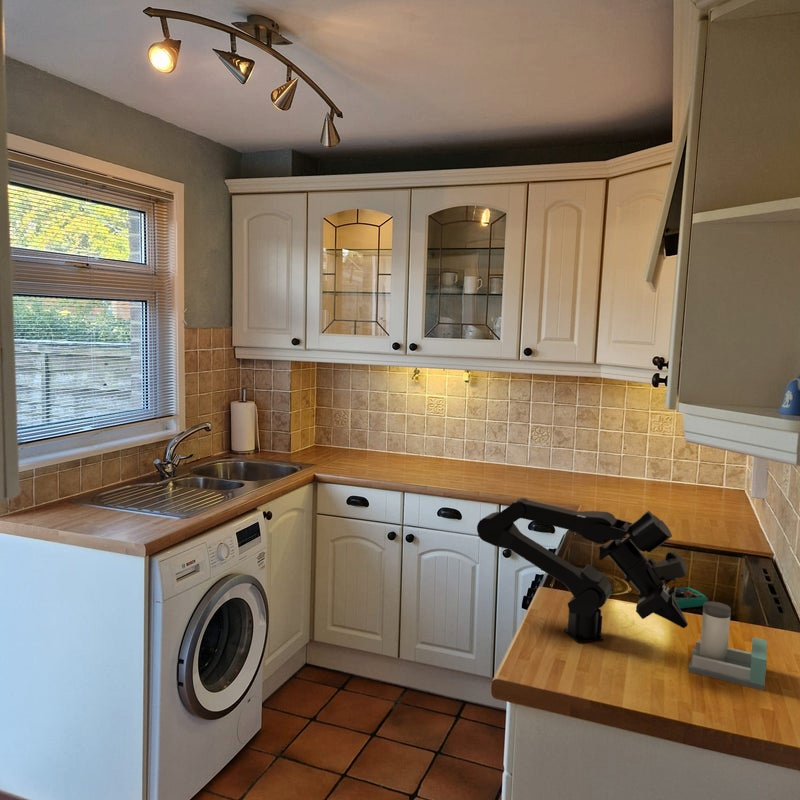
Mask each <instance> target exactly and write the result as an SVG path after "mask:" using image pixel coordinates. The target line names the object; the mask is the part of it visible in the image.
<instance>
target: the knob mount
mask: <svg viewBox="0 0 800 800" xmlns="http://www.w3.org/2000/svg"><path fill="white" fill-rule="evenodd" d="M700 642H701V640H696V641H695V647H693V649H692V651H691V652H692V653H691V657H690V661H689V664H688V673H692V674H694V675H695V674H696V675H699V676H703V677H704V676H705V677H708V678H713V679H715V680H716V679H717V680H719V681H725V682H728V683H733V684H736V685H741V686H744V687H748V688H752V689H756V690H761V691H764V690H765V687H766V686H765V683H766V672H767V663H768V662H767V661H768V659H767V658H768V655H767V654H768V647H767V646H768V645H767V643H768V640H766V639H763V638H758V637H752V643H751V651H745V650H741V649H737V648H732V647H728V650H727V660H726V661H725V662H722V661H718V660H714V659H709V658H705V657H701V655H700Z"/></svg>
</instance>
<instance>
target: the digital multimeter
mask: <svg viewBox="0 0 800 800" xmlns="http://www.w3.org/2000/svg"><path fill="white" fill-rule="evenodd" d="M675 599H676V601H677V603H678V605H679V607H680V609H689V608H696V607H703V605H704V603H705V602H709V598H708V597H707V596H706V595H705V594H703V593H702V592H700V591H699V590H696V589H693V588H691V587H681V588H680V587H679V588H676V591H675Z"/></svg>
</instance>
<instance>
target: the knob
mask: <svg viewBox="0 0 800 800" xmlns="http://www.w3.org/2000/svg"><path fill="white" fill-rule="evenodd" d="M731 611H732V608H731V606H729V605H728V604H725V603H722V602H717V601H710V600H708V602H705V603H704V605H703V606H702V617H701V618H702V620H701V630H700V631H701V632H700V641H701V642H700V655H701V657H705V658H709V659H714V660H718V661H722V662H725V661H726V660H727V650H728V648H729V647H728V646H729V637H730V625H731V624H730V623H731Z"/></svg>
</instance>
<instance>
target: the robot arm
mask: <svg viewBox="0 0 800 800" xmlns="http://www.w3.org/2000/svg"><path fill="white" fill-rule="evenodd" d="M520 519H524V520H528V521H531V522H535V523H540V524H543V525H548V526H553V527H556V528H559V529H560V528H561V529H565V530H569V531H571V532H573V533H575V534H577V535H578V536H580V537H582V538H584V539H585V540H587V541H591V542H592V543H595V544H598V545H599V547H598V550H599V554H598V560H600V561H602V560H604V559H606V557H607V556H608V557H609V558H610V559H611V560H612V561H613V562H614V564H615V565H616V566H617V568H618V569H619V570H620V571H621V572H622V573H623V575H624V576H625V577H624V578H623V579H624V581H626V583H629V582H630V583H631V584H632V585H633V587H635V589H636V590H637V591H638V594H637V596H638V598H640V599H638V602H637V603H636V605H635V607H636V609H635V612H636V613H637V614H638V616H639V617H640V618H641V620H644V619H646V618H647V617H649V616H651V615H652V614H655V615H657V616H658V617H659V616H660V617H661V618H663V619H665V620H668V621H669V622H671V623H673V624H675V625H677V626H679V627H681V628H683V629H685V628H686V627H688V622H687V620H686V618H685V615H684V613H683V611H682V610H681V609H682V608H681V609H680V607H679V605H678V603H677V601H676V599H675V591H676V589H677V586H676V585H673V587H671V588H669V586H666V585H667V584H669V583H671V581H673V582H676V581H677V579H682V578H684V577H686V575H687V572H688V569H687V567H686V564H685V559H684V558H683V557H682V555H678V554H677V553H676V552H675V551H668V552H666V553H665V558H664V559H661V561H658V562H655V561H654V559H653V558H650V557H648V558H646V556H645V555H644V554H643V552H647V553H651V552H652V551H655V549H657V548H658V547H660V546H661V545H662V544H664V543H665V542H667V541H668V540H670V539H671V538H672V537H673V534H672V532H671V530H670V528H669V527H668V525H666V523H665V522H664V521H663V520H662V519H660V518H659V517H657V516H656V515H655V514H653V513H652V512H651V511H650V510H647V511H646V512H645V513H644V514H642V516H641V517H640V518H638V519H637V520H635V521H634V522H629V521H626V520H623V519H619V518H616V517H615V515H614V514H613V513H611V512H608V511H599V510H597V511H596V510H587V511H583V510H581V511H579V510H572V509H567V508H563V507H560V506H555V505H550V504H546V503H542V502H537V501H533V500H529V499H528V498H524V497H521V498H517V499H516V500H515V501H513V502H511V504H510V505H509V506H507V507H506V508H505V509H503V510H501V511H496V512H492V513H490V514H488V515H486V516H484V517H483V518H481V519H480V520H479V521H478V522H477V526H476V532H477V534H478V535H477V536H478V537H479V539H480V540H481V541H483V542H486V543H487V544H490V545H491V546H494V547H498V548H501V549H505V550H506V549H507V550H509V551H511V552H513V553H515V554H516V555H518V556H519V557H520V558H523V559H524V560H525V561H527V562H529V563H531V564H532V565H534V566H535V567H536V568H538V569H539V570H541V571H543V572H544V573H546V574H548V575H549V576H551V577H552V578H554V579H556V580H557V581H559V582H561V583H562V584H563V585H564V586H565V587H566V588H567V589H568V591H569V592H570V594H571V595H572V597H571V598H570V600H569V601H568V602H567V606H568V607H567V608H568V616H567V617H568V618H567V627H564V628H563V631H564V633H566V634H567V635H568V636H569V637H570V638H571V639H573V640H574V641H576V642H577V643H588V642H590V643H591V642H598V640H600V641H604V640H603V639H604V636H603V635H601V634H602V629H603V628H602V627H603V616H602V609H600V608H602V607H603V606H604V605H605V604H606V603H607V601H608V599H609V598H610V596H611V594H612V585H611V582H610V580H609V579H608V578H607V577H606V576H605V574H606V573H605V572H601V571H599V570H597V569H596V568H594V567H593V566H592V565H591V564H586V566H585V567H584V568H582V567H578V566H575V565H573V564H572V563H570V562H568V561H567V560H566V559H563V558H562V557H560V556H559V555H557V554H555V553H554V552H553V551H551V550H550V549H548V548H546V547H545V546H543V545H541V544H539V543H538V542H536V541H535V540H533V539H531V538H530V537H529V536H526V535H525V534H523V533H522V531H520V530H519V528H518V527H517V525H516V524H515V523H516V521H518V520H520ZM624 537H625V538H624ZM610 541H611V542H610ZM608 542H610V543H608ZM606 543H608V544H607V545H605V544H606Z"/></svg>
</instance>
